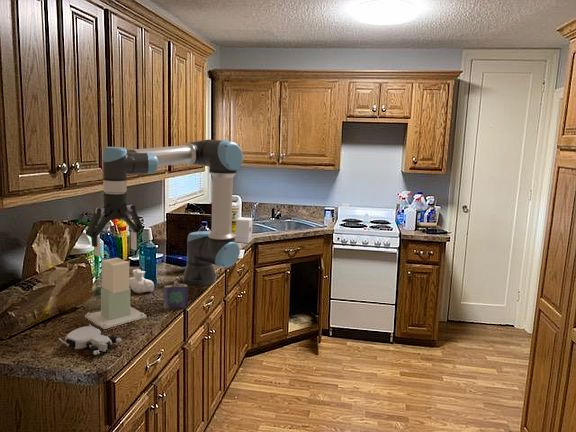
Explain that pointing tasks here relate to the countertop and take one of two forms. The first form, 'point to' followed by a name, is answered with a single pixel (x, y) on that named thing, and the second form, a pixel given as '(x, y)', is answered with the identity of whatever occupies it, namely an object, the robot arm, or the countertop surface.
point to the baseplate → (107, 323)
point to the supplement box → (243, 230)
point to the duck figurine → (140, 282)
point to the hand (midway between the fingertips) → (116, 252)
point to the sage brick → (115, 304)
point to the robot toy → (89, 339)
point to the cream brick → (115, 275)
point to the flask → (175, 296)
